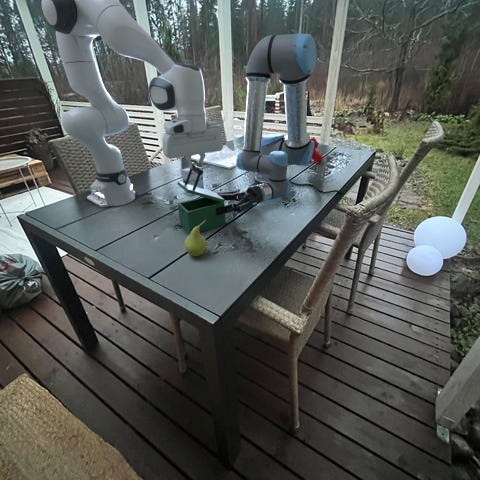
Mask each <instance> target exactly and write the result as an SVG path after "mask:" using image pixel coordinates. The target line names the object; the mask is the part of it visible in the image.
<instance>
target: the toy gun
mask: <svg viewBox="0 0 480 480" xmlns="http://www.w3.org/2000/svg"><path fill="white" fill-rule="evenodd" d="M311 140H312V141H314V143H315V144H314V150H313V154H312V157H311V159H312V160H314V161H315V164H316V165H318V164H319V163H320V162H321V163H322V161H323V159H324V156H323V155H322V154H321V153H320V152H319V151H317V148H318V147H319V142H318V141H317V139H316V138H315V137H314V136H313V137H310V141H311ZM316 162H319V163H316Z"/></svg>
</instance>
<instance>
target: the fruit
mask: <svg viewBox="0 0 480 480" xmlns="http://www.w3.org/2000/svg"><path fill="white" fill-rule="evenodd" d="M205 222H206V219H205V220H204V222H202V223H201V224H200V225H199V226H196V227H195V228H194V229H193V230H192V231H191V233H190V234H188V236H187V237H186V238H185V241H184V248H185V251H186V252H187V253H188V254H189V256H193V257H199V256H200V257H201V256H202V255H203V254H204V253H205V251H206V250H207V247H208V242H207V239H206V238H205V237H204V236H203V235H201V232H199V227H200V226H201V225H202V224H203V223H205Z"/></svg>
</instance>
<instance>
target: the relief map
mask: <svg viewBox="0 0 480 480" xmlns="http://www.w3.org/2000/svg"><path fill="white" fill-rule="evenodd" d="M240 152H243V149H242V148H237V149H235V150H232V149H230V148H229V147H228V146H227V145H226V144H223V149H222V150H221V151H216V152H209V153H205V158H204V161H203V164H208V165H213V166H215V167H216V166H217V167H221V168H225V169H230V170H231V169H233V168H236V167H237V164H236V160H237V156H238V154H239V153H240ZM199 159H200V155H199V154H197V155H191V159H190V160H191V161H196V162H197V161H199Z"/></svg>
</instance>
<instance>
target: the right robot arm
mask: <svg viewBox="0 0 480 480" xmlns="http://www.w3.org/2000/svg"><path fill="white" fill-rule="evenodd" d="M316 60H317V45H316V41H315V39H314V37H313V36H312V35H311V34H310V33H301V32H298V33H288V34H287V33H286V34H270V35H267V36H265V37H263V38H262V39H261V40H259V42H258V43H256V45H255V46H254V48H253V50H252V52H251V54H250V56H249V58H248V61H247V65H246V70H245V80H246V81H247V94H246V105H245V120H244V133H243V148H242V151H243V152H240V153H239V154H238V156H237V160H236V164H237V166H236V167H237V168H238V170H241V171H246V172H253V173H256V174H255V177H254V181H255V183H258V184H257V185H252V186H248V188H247V189H246V190H245V191H244V190H243V191H241V189H239V188H236V189H234V190H225V191H218V192H217V193H216V194H217V195H219V196H220V197H222V198H223V199H224V200H225V201H226V202H227V201H235V203H230V204H227V205H226V204H225V206H223V207H219V208H216V211H217V215H221V214H225V215H226V214H228V213H232V212H236V213H237V214H241V213H243V212H245V211H247V210H249V209H251V208H254V207H257V205H258V204H261V203H264V202H269V201H271V200H276V199H279V198H283V197H286V196H287V195H289V194H290V193H291V191H292V185H295V186H299V187H305V186H306V187H307V186H309V187H312V188H315V189H316V191H318V192H320V193H322V194H331V193H338V194H340V195H343V192H342V191H340V190H338V189H333V190H327V191H326V192H323V191H324V190H322V189H320V188H319V187H318V186H317V185H315V184H312V183H297V182H294V181H292V180H289V179H288V178H287V174H288V165H292V166H293V165H295V166H299V167H300V166H303V167H306V166H307V165H309V163H310V161H311V160H312V158H311V157H312V154H313V150H314V144H315V143H314V141H312V140H311V141H310V139H311V135H310V134H309V132H308V131H307V129H308V128H307V127H308V125H307V122H308V121H307V119H308V116H307V115H308V114H307V113H308V112H307V111H308V110H307V108H308V107H307V81H308V80H309V79H310V78H311V74H312V73H313V72H314V71H315V68H316V64H317V61H316ZM272 74H278V79H279V82H280V83H281V84H282V85H283V92H284V93H283V94H284V107H285V121H286V134H287V135H286V136H285V135H284V134H283V133H270V134H266V135H263V130H264V122H265V121H264V120H265V111H266V102H267V93H268V84H269V83H270V82H271V79H272V78H271V77H272ZM291 184H292V185H291ZM314 185H315V186H314ZM316 186H317V187H318V188H319V189H318V188H317V187H316ZM321 190H322V191H321ZM225 201H224V202H225Z"/></svg>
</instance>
